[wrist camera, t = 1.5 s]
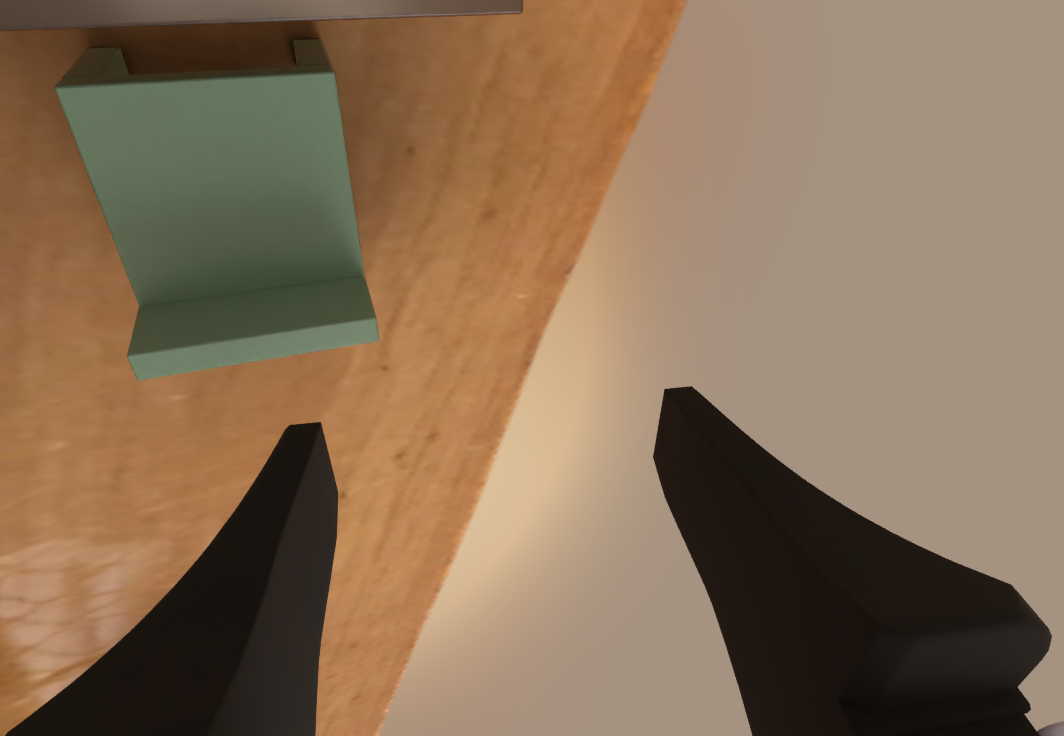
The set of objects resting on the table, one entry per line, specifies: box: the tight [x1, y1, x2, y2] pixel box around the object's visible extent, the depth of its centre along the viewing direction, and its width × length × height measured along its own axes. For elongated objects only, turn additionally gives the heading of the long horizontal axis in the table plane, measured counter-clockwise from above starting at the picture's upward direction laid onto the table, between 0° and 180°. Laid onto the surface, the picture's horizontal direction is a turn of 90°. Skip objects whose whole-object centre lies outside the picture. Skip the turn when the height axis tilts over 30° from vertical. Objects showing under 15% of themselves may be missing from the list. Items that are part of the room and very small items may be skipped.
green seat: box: [55, 39, 379, 380], centre depth 18 cm, size 7×6×6 cm
